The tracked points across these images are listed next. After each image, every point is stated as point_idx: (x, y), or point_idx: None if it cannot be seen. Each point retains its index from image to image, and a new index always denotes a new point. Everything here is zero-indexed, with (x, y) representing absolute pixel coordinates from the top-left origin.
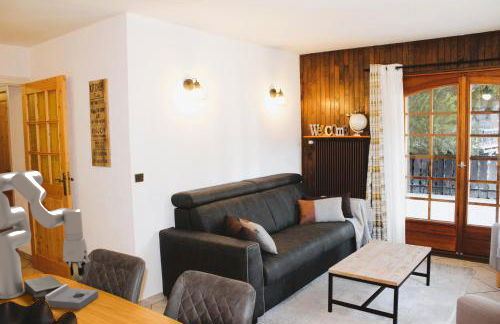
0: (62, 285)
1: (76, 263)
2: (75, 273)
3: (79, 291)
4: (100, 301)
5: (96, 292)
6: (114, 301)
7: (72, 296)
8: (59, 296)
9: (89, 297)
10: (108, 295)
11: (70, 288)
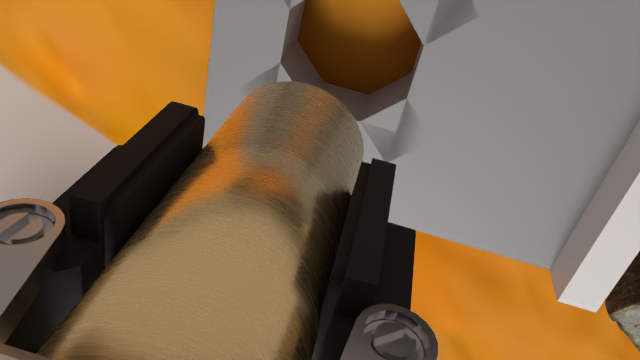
0: (633, 315)
1: (79, 331)
2: (253, 146)
3: None
4: (146, 22)
5: (204, 136)
6: (17, 10)
7: (421, 37)
8: (602, 54)
9: (217, 16)
10: None
11: (524, 258)
